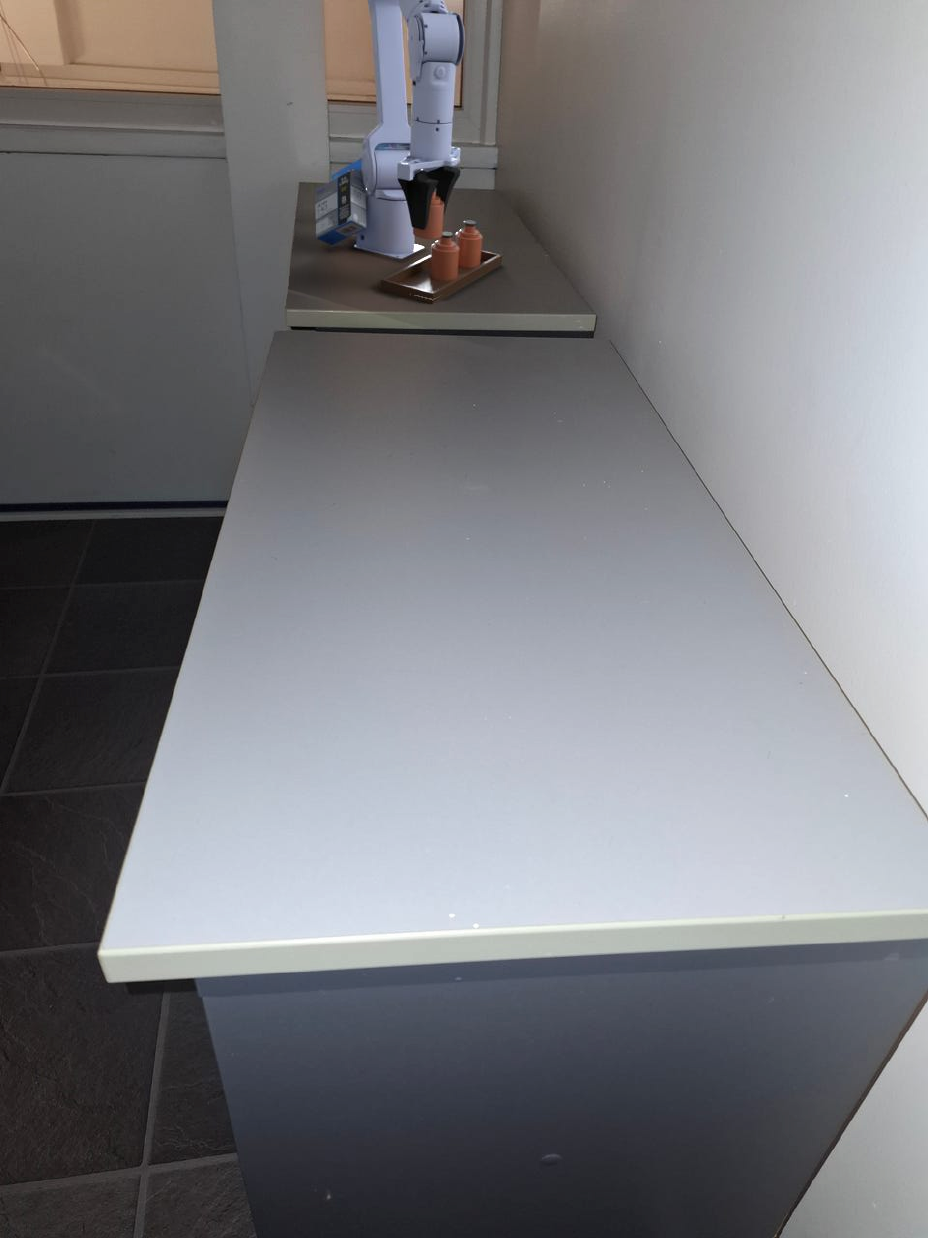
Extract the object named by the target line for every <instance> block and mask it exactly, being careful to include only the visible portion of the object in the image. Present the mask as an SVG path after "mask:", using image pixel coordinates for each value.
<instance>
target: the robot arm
mask: <svg viewBox="0 0 928 1238" xmlns="http://www.w3.org/2000/svg"><path fill="white" fill-rule="evenodd" d="M367 5H368V11H369V16H370V29H371V41H372V56H373V57H372V58H373V71H374V85H375V86H374V87H375V101H376V114H377V115H376V116H377V126H375V127H374V129H372V130H370V131H371V132H370V131H369V132H370V133H369V132H368V133H369V134H368V133H367V134H368V135H367V134H366V135H367V136H366V135H365V136H366V137H365V136H364V139H363V142H362V144H361V152H362V156H361V158H362V178H363V183H364V186H365V188H366V229H365V230H363V231H361V232H358V233H356V234H355V236H356V237H355V238H356V239H355V240H356V241H355V242H356V243H355V244H354V245H353V248H356V249H360V250H364V251H368V252H371V253H375V254H379V255H382V256H386V257H389V258H393V259H394V258H395V259H398V260H404V259H405V258H406V257H409V256H411V255H413V254H415V253H417V252H419V251H421V250H424V249H425V246H423V245H419V244H415V241H416V240H415V239H416V238H415V237H416V236H415V235H414V234H413V228H417V229H421V230H425V229H426V227H427V223H428V218H429V210H430V204H431V199H432V196H433V193H434V190H435V188H436V187H437V191H436V196H438V197H440V200H441V201H443V202H444V215H445V214H446V210H447V207H448V204H449V200H450V197H451V195H452V191H453V190H454V187H455V185H456V183H457V181H458V180H459V178H460V176H461V169H460V168H459V167H455V166H457V165H458V164H459V163H460V162H461V147H457V146H452V141H453V139H452V138H453V123H454V106H455V90H456V75H457V74H456V73H457V67H459V66H460V65H461V63H462V61H463V56H464V53H465V52H464V51H465V40H466V39H465V38H466V37H465V26H464V22H463V18H462V15H461V14H460V13H459V12H454V11H452V10H451V11H449V10H448V7H447V5H446V3H445V0H367ZM403 20H404V23H405V25H406V28H407V53H408V61H409V62H408V63H409V68H408V69H409V71H408V72H409V78H410V79H412V81H411V110H410V111H411V112H410V113H411V114H410V115H411V116H410V124H409V122H408V120H409V119H408V104H407V86H406V84H407V83H406V70H405V69H406V68H405V66H406V65H405V52H404V34H403V33H404V32H403V31H404V30H403ZM375 148H389V149H375Z"/></svg>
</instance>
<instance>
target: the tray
mask: <svg viewBox="0 0 928 1238" xmlns="http://www.w3.org/2000/svg"><path fill="white" fill-rule="evenodd" d="M502 261H503V255H502V254H499V253H496V252H492V251H487V250H484V249H482V251H481V262H480V265H479V266H477V267H475V268H464V267H460V266H458V277H457V278H456V279H454V280H452V281H440V280H436V279H433V278H432V277H430V264H431V254H429V255H427V256H425V257H423V258H421V259H419V260H417V261H415V262H413V263H411V264H409V265H407V266H405V267H403V268H401V269H398V270H397V271H394V272H393V273H390V274H389V275H386V276H385V277H383V278H381V279H380V280H379V281H380V283H379V284H380V291H382V292H386V293H390V294H393V295H397V296H400V297H405V298H408V299H412V300H416V301H419V302H423V303H426V304H430V305H434V304H436V303H438V302H440V301H441V300H443V299H445V298H446V297H448V296H450V295H452V294H454V293H455V292H457V291H458V290H460V289H462V288H464V287H465V286H467V285H468V284H470V283H472V282H474V281H476V280H477V279H479V278H481V277H483V276H484V275H486V274H488V273H490V272H491V271H493V270H495V269H496V268H498V267H500V266H502ZM410 294H411V295H410ZM414 295H419V296H423V297H427V298H432V299H434V298H437V297H439V296H440V297H439V298H437V299H435V300H433V301H432V300H429V299H425V298H421V297H418V296H414ZM441 295H442V296H441Z"/></svg>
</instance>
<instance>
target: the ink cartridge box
mask: <svg viewBox="0 0 928 1238" xmlns="http://www.w3.org/2000/svg"><path fill="white" fill-rule="evenodd" d="M330 178H331V180H330V181H329V182H327V183H325V184H323V185H322V186H320V187H318V188H316V189H315V190H314V201H315V202H314V203H315V205H314V207H315V208H314V209H315V211H314V212H315V239H317V240H318V241H321V242H323V243H325V244H327V245H329V246H334V245H336V244H338V243H340V242H342V241H344V240H346V239H348V238H350V237H352V236H354V235H356V233H358V232H361V231H363V230H365V229H366V188H365V186H364V183H363V178H362V157H360V158H359V159H357V160H355V161H354V162H351V163H350V164H348V165H346V166H345V167H344V168H342V169H339V170H338V171H337V172H335V173H333V174H331V177H330Z"/></svg>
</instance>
